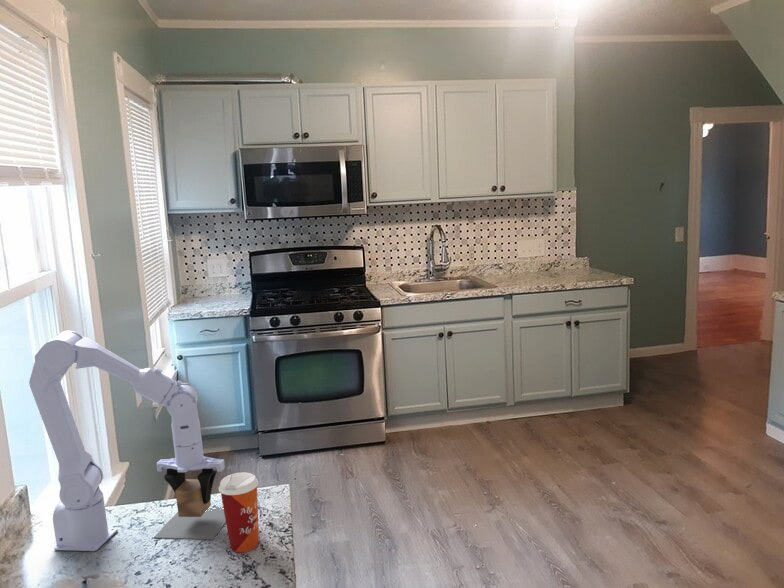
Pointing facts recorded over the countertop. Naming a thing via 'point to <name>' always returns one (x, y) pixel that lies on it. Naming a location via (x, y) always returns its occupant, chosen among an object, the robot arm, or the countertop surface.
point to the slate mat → (194, 526)
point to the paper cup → (241, 510)
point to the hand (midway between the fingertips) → (194, 501)
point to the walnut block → (190, 499)
